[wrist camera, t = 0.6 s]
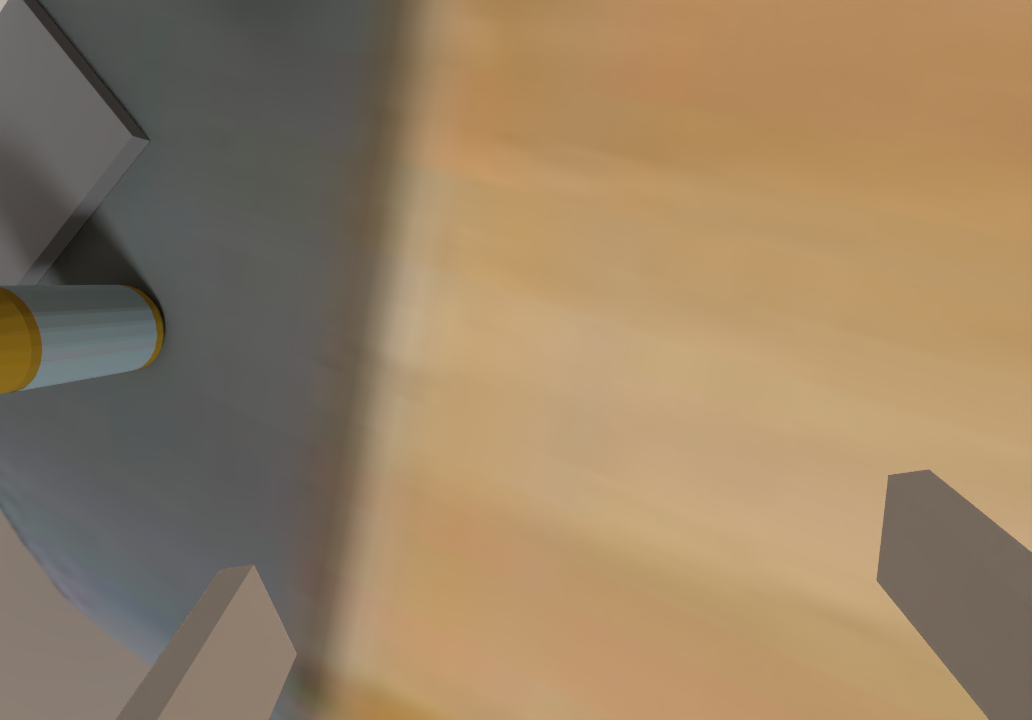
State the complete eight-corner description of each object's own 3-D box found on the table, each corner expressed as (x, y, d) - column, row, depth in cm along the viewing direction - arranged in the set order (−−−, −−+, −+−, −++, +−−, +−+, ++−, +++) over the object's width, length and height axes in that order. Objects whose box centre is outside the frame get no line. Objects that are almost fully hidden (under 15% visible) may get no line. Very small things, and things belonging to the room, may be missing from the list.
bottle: (175, 299, 43) (-58, 307, 28) (163, 379, 44) (-65, 427, 30) (105, 274, 44) (-154, 271, 29) (95, 353, 45) (-157, 387, 31)
